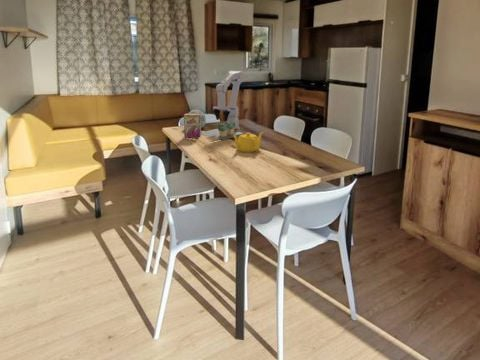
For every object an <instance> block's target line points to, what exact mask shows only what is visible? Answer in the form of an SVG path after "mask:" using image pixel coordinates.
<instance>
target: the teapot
mask: <svg viewBox="0 0 480 360" xmlns="http://www.w3.org/2000/svg"><path fill="white" fill-rule="evenodd" d="M263 134H264V132H260V133H259V134H258V136H257V134H253V133H251V132H245V133H244V135H240V136H237V137H236V136H233V138H234V144H235V147H236V149H237V150H238V151H239V152H241V153H254V151H255V152H258V151H259V150H260V147H261V146H260V144H261V142H262V135H263Z"/></svg>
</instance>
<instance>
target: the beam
mask: <svg viewBox="0 0 480 360" xmlns="http://www.w3.org/2000/svg"><path fill="white" fill-rule="evenodd" d="M234 128H235V122H228V123H227V122H224V123H220V124H217V129H218V131H226V130H230V129H234ZM234 130H235V129H234Z"/></svg>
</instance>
